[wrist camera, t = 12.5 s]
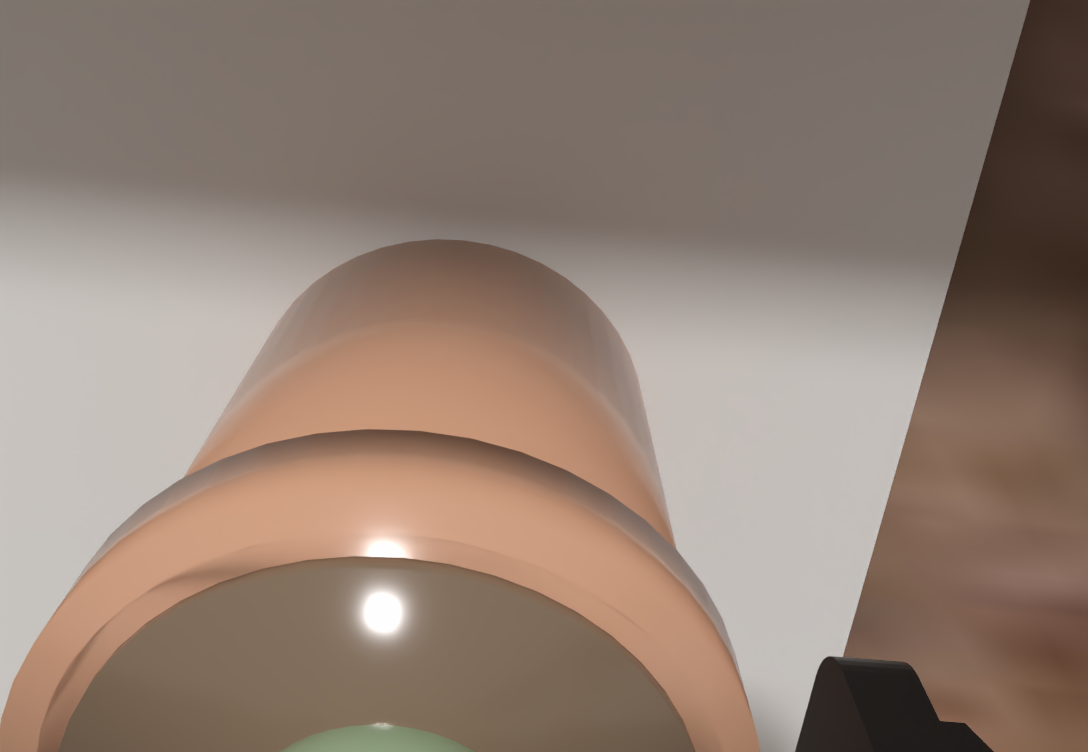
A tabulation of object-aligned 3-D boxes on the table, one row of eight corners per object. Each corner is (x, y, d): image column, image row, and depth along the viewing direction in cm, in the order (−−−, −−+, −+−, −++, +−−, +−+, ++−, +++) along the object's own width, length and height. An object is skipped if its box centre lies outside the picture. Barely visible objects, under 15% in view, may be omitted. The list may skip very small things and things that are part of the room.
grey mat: (1024, -44, 13) (1042, -42, 12) (791, 790, 19) (797, 812, 18) (-145, -181, 12) (-173, -184, 11) (-6, 737, 18) (-20, 758, 17)
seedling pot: (698, 241, 14) (944, 742, 6) (631, 619, 16) (733, 1345, 8) (225, 193, 13) (-257, 652, 5) (234, 586, 16) (-82, 1307, 8)
